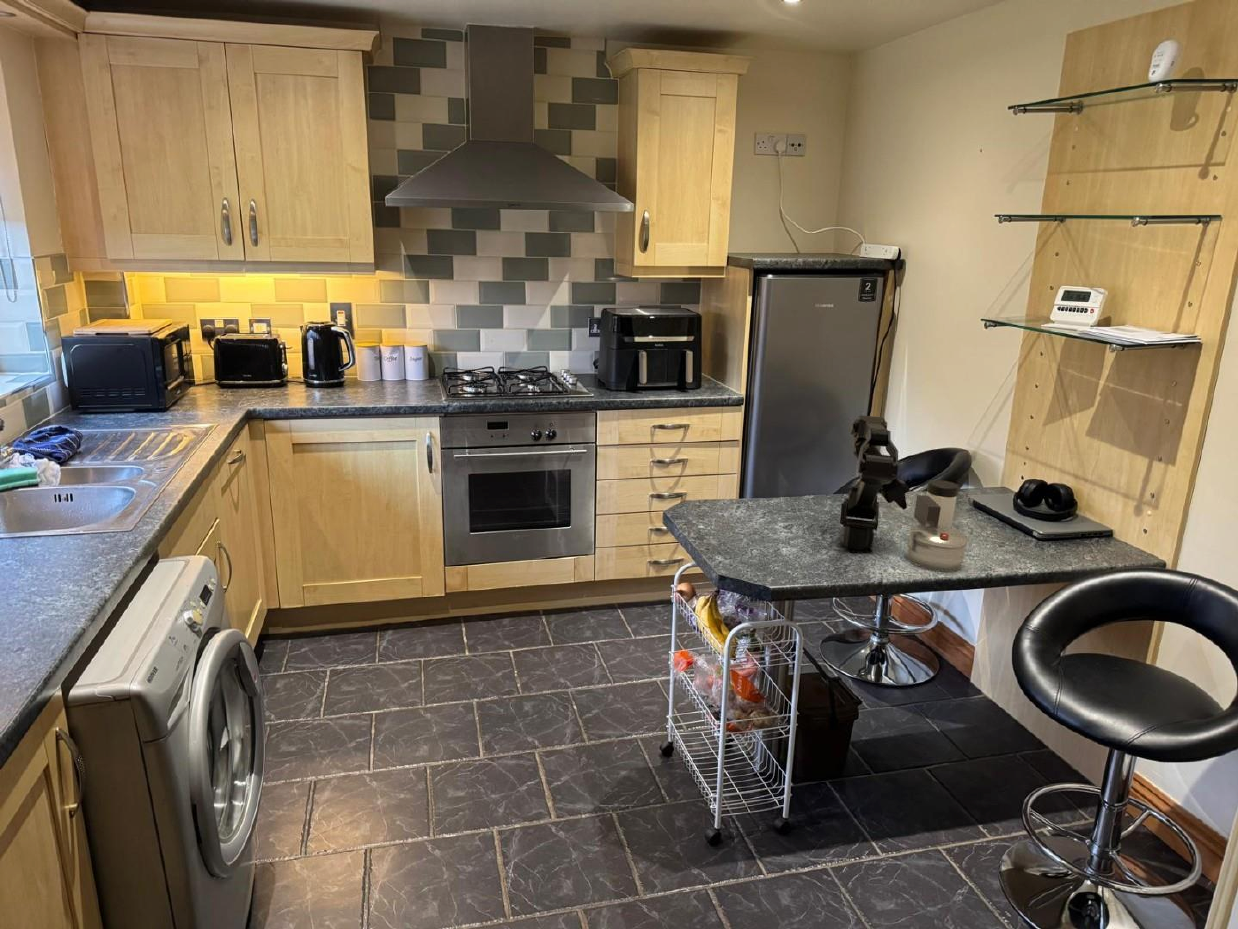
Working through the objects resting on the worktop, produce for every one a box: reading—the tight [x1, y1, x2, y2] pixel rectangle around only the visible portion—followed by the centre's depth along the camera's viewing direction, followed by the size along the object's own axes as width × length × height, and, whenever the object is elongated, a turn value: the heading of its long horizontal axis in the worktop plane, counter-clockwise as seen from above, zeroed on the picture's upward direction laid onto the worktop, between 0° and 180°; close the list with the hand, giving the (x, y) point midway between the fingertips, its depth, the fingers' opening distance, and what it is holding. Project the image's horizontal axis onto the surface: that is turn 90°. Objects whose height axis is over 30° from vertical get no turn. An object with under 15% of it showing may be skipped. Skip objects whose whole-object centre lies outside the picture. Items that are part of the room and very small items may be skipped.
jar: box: [925, 479, 960, 529], centre depth 235 cm, size 9×8×12 cm
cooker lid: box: [909, 494, 969, 548], centre depth 211 cm, size 22×13×6 cm, turn 178°
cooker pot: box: [906, 535, 967, 573], centre depth 211 cm, size 20×13×6 cm, turn 148°
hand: (904, 508), depth 218 cm, fingers closed
